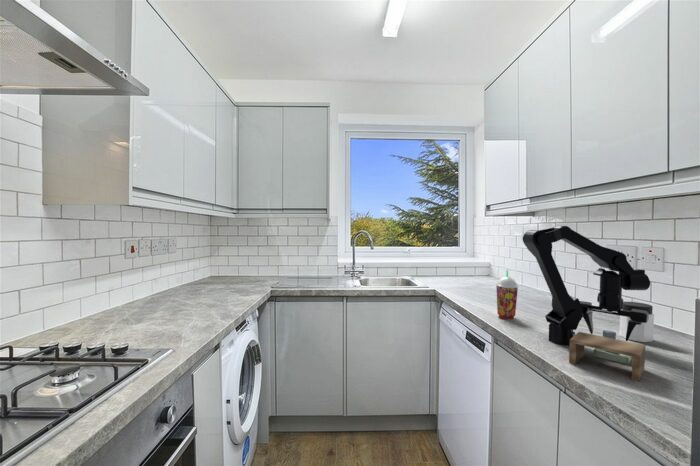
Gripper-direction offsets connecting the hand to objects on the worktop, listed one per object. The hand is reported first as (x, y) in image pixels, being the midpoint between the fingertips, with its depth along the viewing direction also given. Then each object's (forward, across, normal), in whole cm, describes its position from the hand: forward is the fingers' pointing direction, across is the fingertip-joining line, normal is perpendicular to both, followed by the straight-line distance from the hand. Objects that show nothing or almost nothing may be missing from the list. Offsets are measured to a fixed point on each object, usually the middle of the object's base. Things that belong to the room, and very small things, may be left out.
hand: (608, 337), depth 110 cm
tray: (+3, -3, +11) cm, 12 cm away
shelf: (+3, -3, +23) cm, 23 cm away
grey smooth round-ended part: (+2, -3, +14) cm, 14 cm away
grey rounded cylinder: (+3, 0, 0) cm, 3 cm away
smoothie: (+3, +36, -8) cm, 37 cm away
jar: (+3, -5, -16) cm, 17 cm away
